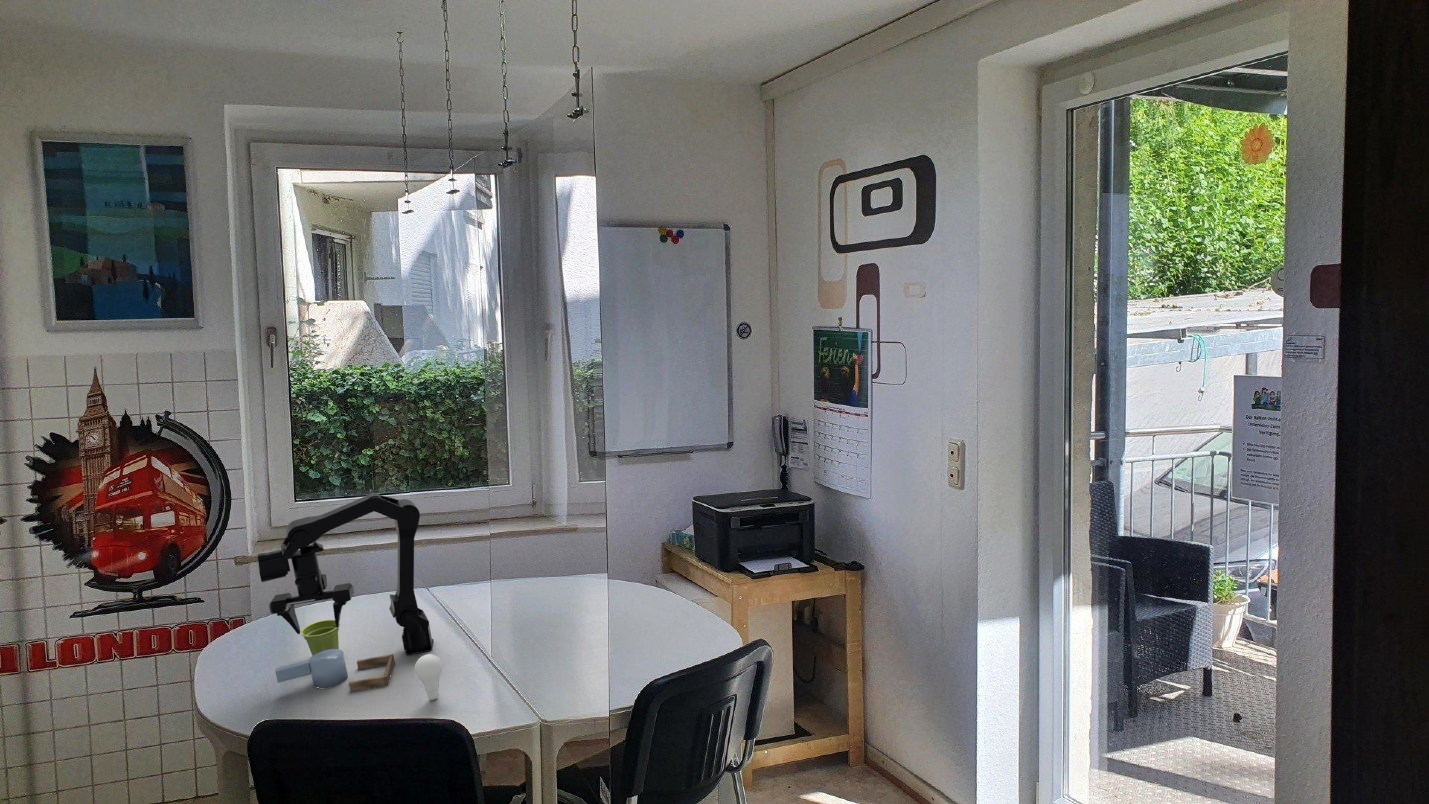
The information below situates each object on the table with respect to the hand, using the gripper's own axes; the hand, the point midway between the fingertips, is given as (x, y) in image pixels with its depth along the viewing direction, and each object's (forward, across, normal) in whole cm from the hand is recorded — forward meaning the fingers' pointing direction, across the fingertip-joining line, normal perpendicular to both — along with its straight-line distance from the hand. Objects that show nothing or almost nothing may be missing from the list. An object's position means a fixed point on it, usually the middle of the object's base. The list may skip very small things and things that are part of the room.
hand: (318, 630), depth 239 cm
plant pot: (+12, +2, -10) cm, 16 cm away
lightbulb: (+12, -28, +24) cm, 39 cm away
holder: (+12, -12, +6) cm, 18 cm away
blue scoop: (+12, +2, +5) cm, 13 cm away
